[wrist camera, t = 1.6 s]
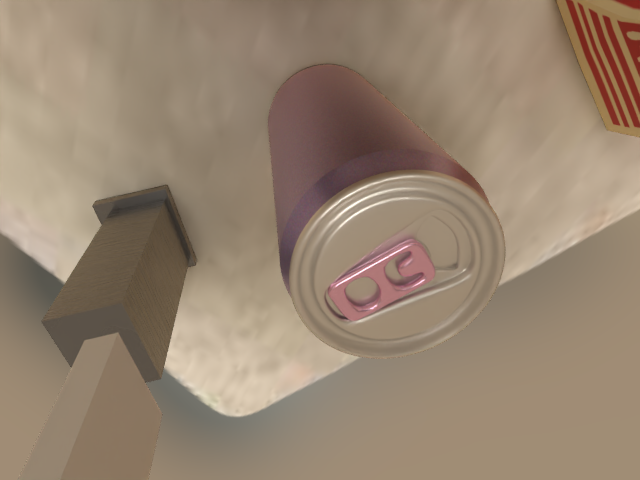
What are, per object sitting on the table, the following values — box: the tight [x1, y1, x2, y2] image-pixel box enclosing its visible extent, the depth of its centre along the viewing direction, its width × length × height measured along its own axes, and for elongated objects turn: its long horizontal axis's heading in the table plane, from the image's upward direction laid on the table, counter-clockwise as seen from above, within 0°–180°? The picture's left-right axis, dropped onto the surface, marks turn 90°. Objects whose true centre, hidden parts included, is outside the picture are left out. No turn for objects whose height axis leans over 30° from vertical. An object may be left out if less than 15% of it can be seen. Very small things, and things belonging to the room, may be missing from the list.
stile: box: [42, 185, 197, 383], centre depth 22 cm, size 5×4×10 cm
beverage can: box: [268, 64, 505, 358], centre depth 18 cm, size 6×6×15 cm
